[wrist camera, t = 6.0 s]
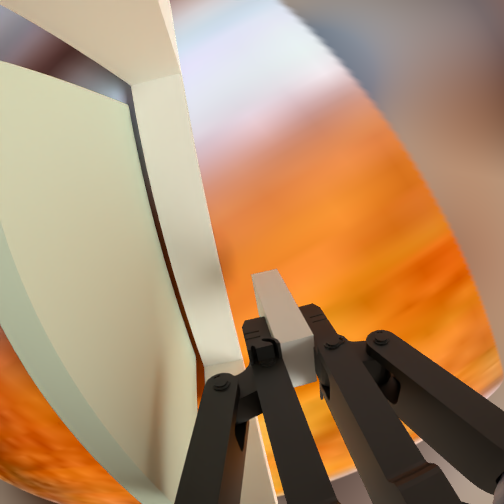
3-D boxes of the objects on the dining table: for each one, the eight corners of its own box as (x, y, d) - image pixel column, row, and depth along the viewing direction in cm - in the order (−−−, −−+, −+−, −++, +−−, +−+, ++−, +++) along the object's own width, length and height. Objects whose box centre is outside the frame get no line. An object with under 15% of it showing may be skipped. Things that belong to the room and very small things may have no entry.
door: (88, 119, 16) (-124, 119, 2) (130, 105, 16) (-55, 47, 2) (164, 366, 23) (157, 554, 9) (198, 360, 23) (213, 553, 9)
